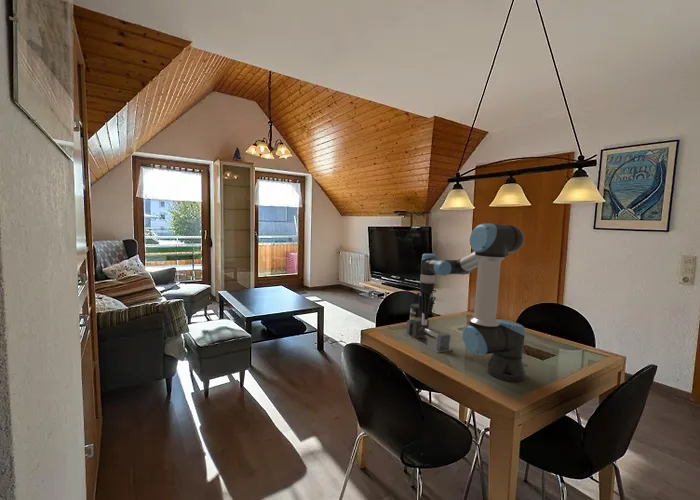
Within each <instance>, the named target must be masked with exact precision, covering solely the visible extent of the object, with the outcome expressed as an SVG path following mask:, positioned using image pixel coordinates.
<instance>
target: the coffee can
mask: <svg viewBox="0 0 700 500" xmlns="http://www.w3.org/2000/svg"><path fill="white" fill-rule="evenodd" d="M409 309H410V311H409V313H410V314H409V320H414V319H416V320H419V319H422V312H421V310H419V303H411V304H410V307H409Z"/></svg>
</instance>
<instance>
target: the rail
mask: <svg viewBox="0 0 700 500" xmlns="http://www.w3.org/2000/svg"><path fill="white" fill-rule="evenodd" d="M414 320H416V319H414ZM419 330H422V331H424V332H426V333H428V335H430V336H432V337H434V338H435V339H434V338H432V337H430V336H428V335H424V336H416V337H415V336H414V335H412V332H413V320H410V319H407V322H406V331H403V332H402V334H403V335H404V334H405V335H404V336H406V335H407V337H409V339H412V340H413V339H414V341H415V340H416V342H417V343H419V344H421V345H423V346H424V347H426V348H428V349H429V350H432V351H433V352H435V353H437V354H440V353H447V352H452V351H454V349H453V348H452V347H450V343H451V342H450V341H451V335H450V334H449V333H441V334H440V333H438V332H436V331H434V330H431V329H429V327H428V328H425V327H423V326H422V325H419Z"/></svg>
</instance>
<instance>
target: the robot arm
mask: <svg viewBox="0 0 700 500" xmlns="http://www.w3.org/2000/svg"><path fill="white" fill-rule="evenodd" d="M524 243H525V235H524V233H523V231H522V230H521V229H520V228H519V227H517V226H516V225H512V224H500V223H489V222H488V223H480V224H478V225H476V227H475V228H473V230H472V232H471V233H470V236H469V245H470V248H471V250H473V251H472V252H471V253H468V254H467V255H465V256H463V257H461V258H459V259H438V258H437V255H436V254H435V253H423V254H422V255H421V263H420V278H419V279H420V280H419V282H420V283H419V289H420V292H417V297H418V298H417V299H418V304H419V310H421V312H422V323H421V325H427V320H429V314H431V313H432V312H433V307H434V305H435V301H436V299H437V298H436V296H434V294H433V291H434V290H435V277H436V275H439V276H448V275H462V276H465V275H470V274H471V273H472V271H473V270H474V269H476V268H477V272H476V284H475V285H476V286H475V288H476V289H475V299H474V312H473V316H472V317H471V318H470V319H469V324H468V325H466V326H464V328H463V330H462V341H463V343H464V345H465V347H466V349H467V350H468V351H469V352H470V353H471V354H473V355H483V356H484V355H489V354H492V355H491V356H490V358H489V360H488V363H487V365H486V371H487V372H486V373H488V374H490V375H491V376H492V377H494V378H496V379H500V380H501V381H502V380H503V381H505V382H514V383H517V382H523V381H524V380H525V379H526V370H525V367H524V362H523V355H524V353H523V352H524V345H525V337H526V335H525V333H526V332H525V330H526V329H525V326H524V325H522V324H520V323H518V322H516V321H511V320H508V319H501V318H500V319H499V318H498V319H497V311H498V299H499V288H500V287H499V286H500V276H501V275H500V274H501V265H502V261H504V260H505V259H506V257H507V256H510V255H513V254H515V253H516V252H518V251H519V250H521V249H522V247H523V246H524Z"/></svg>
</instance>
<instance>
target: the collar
mask: <svg viewBox="0 0 700 500" xmlns="http://www.w3.org/2000/svg"><path fill="white" fill-rule="evenodd" d="M421 323H422V319H419V320H413V332H412V335H414V336H415V337H416V336H424V335H427V336H428V335H429V334H428V333H426V332H424V331H422V330H419V325H421ZM429 323H430V320H429V319H427V325H422V326H423V327H425V328H428V329H429V325H430V324H429Z"/></svg>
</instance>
